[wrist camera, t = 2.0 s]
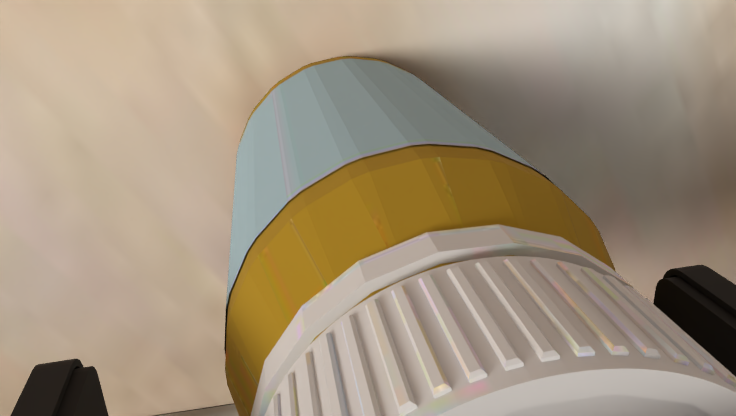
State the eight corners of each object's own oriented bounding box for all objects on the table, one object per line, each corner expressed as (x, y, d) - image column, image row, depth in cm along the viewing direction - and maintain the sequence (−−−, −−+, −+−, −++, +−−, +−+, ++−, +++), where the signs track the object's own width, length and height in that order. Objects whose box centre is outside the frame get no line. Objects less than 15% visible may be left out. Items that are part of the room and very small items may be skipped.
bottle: (337, 2, 18) (591, 162, 5) (491, 148, 21) (943, 523, 7) (191, 176, 19) (51, 708, 6) (354, 293, 22) (520, 847, 8)
